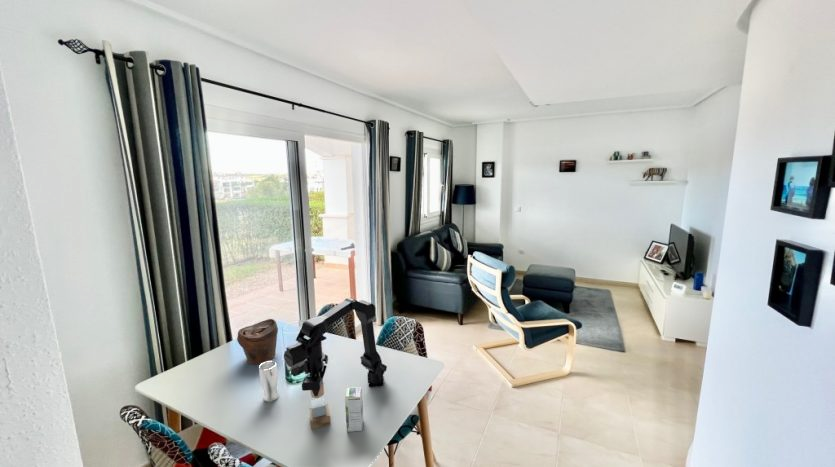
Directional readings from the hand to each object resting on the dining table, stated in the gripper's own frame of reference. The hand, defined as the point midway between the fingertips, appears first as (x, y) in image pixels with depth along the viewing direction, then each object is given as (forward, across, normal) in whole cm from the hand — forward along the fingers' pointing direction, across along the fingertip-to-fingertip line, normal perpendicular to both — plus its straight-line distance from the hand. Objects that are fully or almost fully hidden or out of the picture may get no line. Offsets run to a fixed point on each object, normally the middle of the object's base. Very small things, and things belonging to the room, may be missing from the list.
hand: (317, 391), depth 132 cm
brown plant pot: (+13, -48, -38) cm, 62 cm away
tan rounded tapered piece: (+1, 0, 0) cm, 1 cm away
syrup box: (+13, +4, +14) cm, 19 cm away
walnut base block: (+13, 0, 0) cm, 13 cm away
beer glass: (+13, -16, -23) cm, 31 cm away
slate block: (+9, 0, 0) cm, 9 cm away
